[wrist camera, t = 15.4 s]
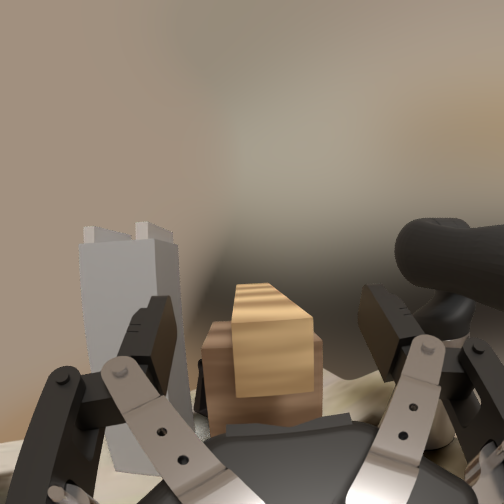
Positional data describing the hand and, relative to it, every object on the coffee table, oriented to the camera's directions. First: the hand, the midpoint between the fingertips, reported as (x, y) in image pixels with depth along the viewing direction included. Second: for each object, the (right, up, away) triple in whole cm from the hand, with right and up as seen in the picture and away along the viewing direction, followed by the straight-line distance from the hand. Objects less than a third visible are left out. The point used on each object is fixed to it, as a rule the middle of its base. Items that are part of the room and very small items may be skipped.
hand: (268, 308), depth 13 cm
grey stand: (-15, -29, +28) cm, 43 cm away
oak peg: (0, -5, +15) cm, 16 cm away
